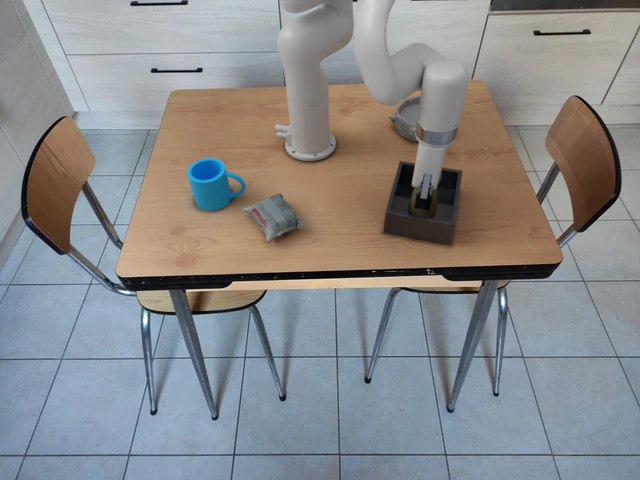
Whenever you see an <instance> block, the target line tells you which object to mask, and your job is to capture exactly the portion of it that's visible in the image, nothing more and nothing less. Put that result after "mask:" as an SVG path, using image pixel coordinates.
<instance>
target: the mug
mask: <svg viewBox="0 0 640 480" xmlns="http://www.w3.org/2000/svg"><path fill="white" fill-rule="evenodd" d="M186 175H187V179H188V181H189V186H190V188H191V191H192V192H191V193H192V195H193V198H194V202H195V204H196V206H197V208H199V209H201V210H204V211H217V210H220V209H223V208H224V207H226V206H227V205H228V204H230V202H231V200H232V199H233V198H237V197H239V196H241V195H242V194H244V192H245V191H246V185H247V183H246V182H245V180H244V179H243V178H242V177H241V176H239V175H237V174H236V173H234V172H230V171H227V168H226V165H225V163H224V162H223V161H222V160H221V159H218V158H215V157H204V158H200V159H198V160H195V161H194V162H192V163H191V164H190V165H189V166H188V168H187V170H186ZM229 178H230V179H234V180H235V181H237V182H238V184H240V189H239V190H238V191H235V192H232V191H231V186H230V181H229Z"/></svg>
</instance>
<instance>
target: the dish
mask: <svg viewBox="0 0 640 480" xmlns="http://www.w3.org/2000/svg"><path fill="white" fill-rule="evenodd" d="M420 96H421V95H416V96H415V95H414V96H411V97H407V98H405V99H404V100H402V101H400V102H399V103H398V105H397V107H396V109H395V111H394V113H391V112H390V114H389V116H388V117H389V121H390V122H391V124H393V123H394V127H395V129H396V131H397V132H398V133H399V134H400V135H401V136H402V137H404V138H405V139H407V140H410V141H413V142H419V141H418V140H417V139H416V136H415V131H416V124H417V117H418V110H419V103H420Z"/></svg>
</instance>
